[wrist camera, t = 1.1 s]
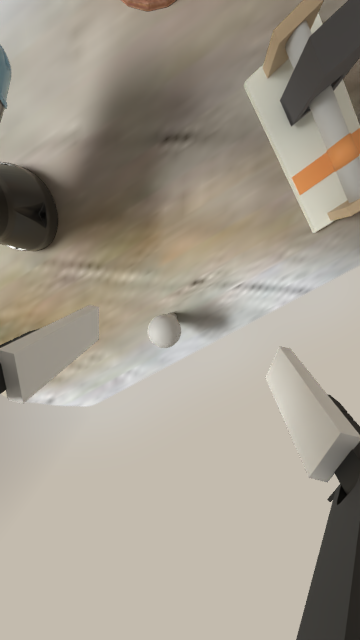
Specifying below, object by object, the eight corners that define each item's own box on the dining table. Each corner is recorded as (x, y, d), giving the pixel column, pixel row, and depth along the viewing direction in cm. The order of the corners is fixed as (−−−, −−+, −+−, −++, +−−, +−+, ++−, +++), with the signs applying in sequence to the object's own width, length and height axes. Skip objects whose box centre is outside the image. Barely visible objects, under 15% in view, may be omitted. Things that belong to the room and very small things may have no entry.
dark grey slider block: (279, 100, 27) (309, 36, 19) (320, 65, 25) (372, -22, 17) (291, 126, 27) (324, 75, 19) (331, 93, 26) (385, 23, 18)
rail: (243, 87, 28) (251, 47, 23) (313, 19, 25) (342, -45, 19) (312, 232, 33) (332, 229, 28) (378, 192, 30) (416, 179, 24)
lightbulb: (188, 307, 41) (181, 326, 31) (182, 332, 43) (174, 358, 33) (161, 300, 41) (145, 317, 31) (157, 325, 44) (140, 349, 33)
